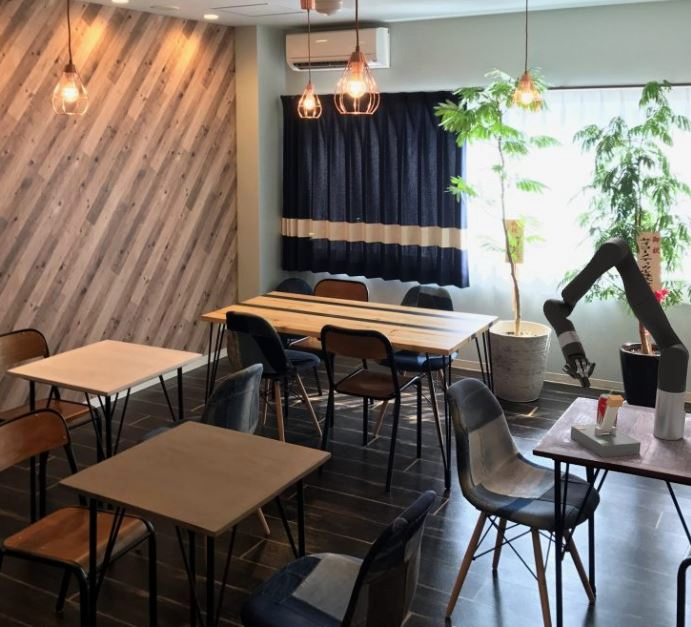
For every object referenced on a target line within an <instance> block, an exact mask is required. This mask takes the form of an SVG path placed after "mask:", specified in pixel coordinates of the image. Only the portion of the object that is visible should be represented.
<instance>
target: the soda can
mask: <svg viewBox="0 0 691 627" xmlns="http://www.w3.org/2000/svg"><path fill="white" fill-rule="evenodd" d="M614 395H615V394H612V393H601V394H600V396H599V397H598V399H597V400H598V401H597V409H596V424H602V421H603V418H604V415H605V412H606V409H607V406H608V405H607V403H606V402H607V399H608V396H614ZM618 414H619V411H618V412H617V415H616V418H615V421H614V424H613V426H614V427H616V428H617V422H618Z"/></svg>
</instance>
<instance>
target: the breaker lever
mask: <svg viewBox="0 0 691 627" xmlns="http://www.w3.org/2000/svg"><path fill="white" fill-rule="evenodd" d="M613 395H614V396H608V399H607V402H606V403H607V405H608V406H607V409H606V412H605V415H604V418H603V421H602V424H601V427H600V428H601V429H602V430H601V433H611V430H612V427H613V424H614V421H615V418H616V415H617V412H618V413H619V409H620V407H621V408H622V406H623V404H624V400H625V399H624V398H623V397H622V395H621V394H618V395H617V394H616V395H615V394H613ZM617 416H618V415H617Z"/></svg>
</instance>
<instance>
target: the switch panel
mask: <svg viewBox="0 0 691 627" xmlns="http://www.w3.org/2000/svg"><path fill="white" fill-rule="evenodd" d="M600 427H601V424H597V423H593V424H581V425H571V427H570V438H571V439H573V440H575V441H576V442H578V443H579V444H580V445H582V446H584V447H585V448H587V449H588V450H590V451H591V452H593V453H594V454H596V455H598V456H599V457H601V458H602V457H603V458H613V457H620V456H621V457H622V456H623V457H624V456H632V455H633V456H634V455H640V454H641V445H642V444H641V442H640V441H639V440H637V439H635V438H633V437H631V436H630V435H628V434H626V433H625V432H623V431H622V430H619V429H618V428H617V426H616V427H614V426H613V427H612V430H611V433H601V430H602V429H601V428H600Z"/></svg>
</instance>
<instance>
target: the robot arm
mask: <svg viewBox="0 0 691 627" xmlns="http://www.w3.org/2000/svg"><path fill="white" fill-rule="evenodd" d="M614 267H615V269H616V271H617V272H618V274H619V276H620V278H621V281H622V285H623V289H624V294H625V299H626V301H627V304H628V306H629V308H630V309H631V311H632V312H633V314H634V317H636V320H637V321H638V322H639V323H640V325H642V327H643V328H644V329H645V330H646V331H647V332H648V333H649V334H650V336H651V337H652V339H653V341H654V342H655V343H654V344H656V347H657V349H658V352H659V354H660V355H659V358H658V370H657V387H656V388H657V389H656V398H655V409H654V421H653V431H652V435H653V437H656V438H658V439H661V440H666V441H678V440H680V439H682V438H684V437H685V436H684V435H685V434H684V433H685V427H686V426H685V424H686V416H687V412H686V411H685V398H686V390H687V377H688V368H689V367H688V366H689V360H690V353H689V350H688V348H687V347H686V346H685V344H684V343H683V341H682V340H681V339H680V338H679V336H678V335H677V333H676V331H675V330H674V328H673V327H672V325H671V324H670V321H669V319H668V317H667V315H666V312H665V311H664V309H663V307H662V305H661V303H660V301H659V299H658V297H657V296H656V294H655V292H654V291H653V289H652V288H651V286H650V284H649V283H648V281H647V279H646V277H645V275H644V274H643V272H642V270H641V269H640V266H639V265H638V263H637V260H636V258H635V256H634V253H633V251H632V248H631V247H630V245H629V244H628V242H627V241H626V240H625V239H623V238H621V237H615V236H614V237H611V238H609V239H607V240H605V241H604V242H602V244H600V246H599V247H598V249H597V250H596V252H595V253H594V255H593V256H592V258H591V259H590V260H589V262H588V263H587V264H586V265H585V266H584V268H583V269H582V270H581V271H580V272H579V273H578V274H577V275H576V276H575V277H573V278H572V279H571V281H569V282H568V283H567V284H566V285H565V286H564V287H563V289H562V290H561V292H560V296H561V298H562V300H560V299H557V298H549V299H546V300H545V301H544V303H543V306H542V310H543V316H544V317H545V318H546V320H547V321H548V323H549V325H550V326H551V327H552V328H553V330H554V332H555V333H554V334H555V335H556V338H557V340H558V345H559V348H560V350H561V352H562V356H563V358H564V360H565V364H564V365H563V367H562V368H561V370H562V371H564V373H566V374H567V375H568V376H569V377H571V378H572V379H573V380H578V381H579V383H580V385H581V387H582V389H584V390H589V389H590V387H591V386H592V385H591V381H590V380H589V379H590V377H591V376H593V373H594V370H595V368H596V366H597V363H595V362H591V361H589V359H588V358H587V357H586V352H585V349H584V346H583V344H582V341H581V339H580V336H579V334H578V333H577V331H576V328H575V326H574V323H573V321H572V320H570V319H569V318H568V317H570V316H571V315H572V313H573V312H574V309H575V307H576V305H577V303H578V302H579V301H580V300H581V299H582V298H583V297H584V296H585V295H586V294H587V293H588V292H589V291H590V289H591V288H592V287H593V285H594V284H595V283H596V281H598V280H599V279H600V278H601V277H602V276H603V275H604V274H605V273H607V272H608V271H610V269H612V268H614Z"/></svg>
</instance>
